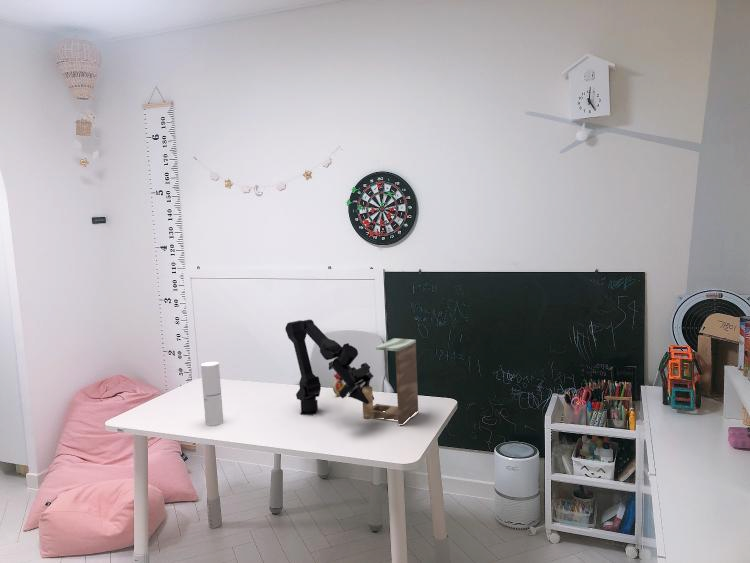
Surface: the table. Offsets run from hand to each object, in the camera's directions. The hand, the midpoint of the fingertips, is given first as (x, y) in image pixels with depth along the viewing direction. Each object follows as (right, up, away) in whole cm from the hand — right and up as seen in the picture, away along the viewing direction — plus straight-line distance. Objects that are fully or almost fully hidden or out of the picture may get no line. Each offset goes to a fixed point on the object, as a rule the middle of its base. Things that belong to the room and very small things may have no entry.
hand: (370, 401), depth 233 cm
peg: (-1, -7, +1) cm, 7 cm away
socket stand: (+8, -9, +14) cm, 19 cm away
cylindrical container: (-65, -12, +16) cm, 68 cm away
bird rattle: (-14, -6, +46) cm, 49 cm away
